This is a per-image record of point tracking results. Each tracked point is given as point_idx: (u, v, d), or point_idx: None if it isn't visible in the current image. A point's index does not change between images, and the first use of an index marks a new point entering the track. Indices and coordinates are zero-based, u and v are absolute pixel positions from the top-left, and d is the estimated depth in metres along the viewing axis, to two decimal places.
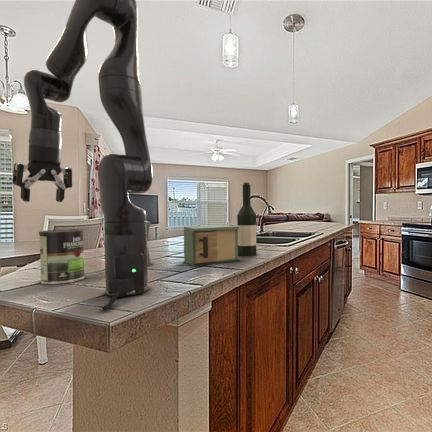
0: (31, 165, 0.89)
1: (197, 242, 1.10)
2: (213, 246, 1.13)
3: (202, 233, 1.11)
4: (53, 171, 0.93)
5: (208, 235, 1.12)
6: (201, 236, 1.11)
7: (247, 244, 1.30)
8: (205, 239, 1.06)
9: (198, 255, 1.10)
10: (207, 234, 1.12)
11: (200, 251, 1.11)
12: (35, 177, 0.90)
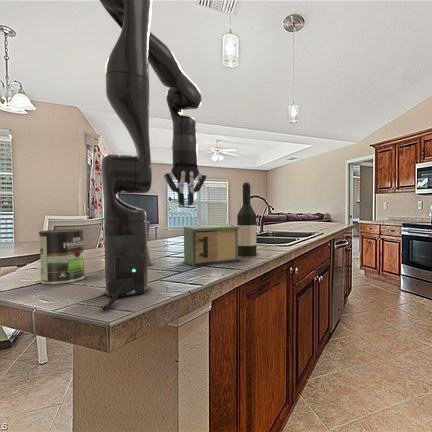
0: (174, 168, 0.99)
1: (197, 242, 1.10)
2: (213, 246, 1.13)
3: (202, 233, 1.11)
4: (191, 173, 1.01)
5: (208, 235, 1.12)
6: (201, 236, 1.11)
7: (247, 244, 1.30)
8: (205, 239, 1.06)
9: (198, 255, 1.10)
10: (207, 234, 1.12)
11: (200, 251, 1.11)
12: (181, 181, 1.00)
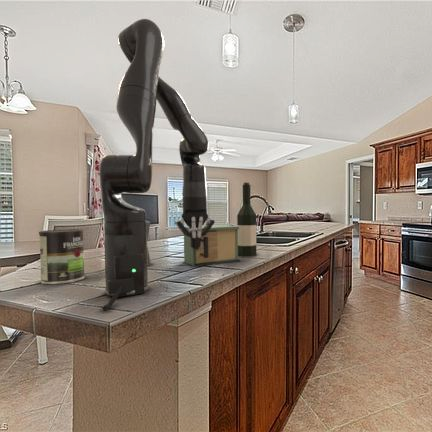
0: (184, 214, 1.01)
1: None
2: (213, 246, 1.13)
3: None
4: (201, 218, 1.04)
5: (208, 235, 1.12)
6: None
7: (247, 244, 1.30)
8: (205, 239, 1.06)
9: (198, 255, 1.10)
10: (207, 234, 1.12)
11: (200, 251, 1.11)
12: (193, 226, 1.02)
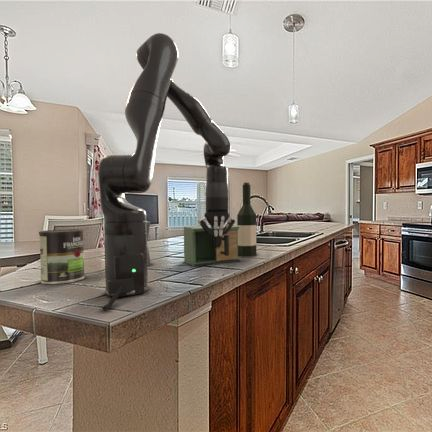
0: (207, 214, 1.06)
1: None
2: (233, 244, 1.18)
3: None
4: (223, 217, 1.08)
5: (228, 234, 1.16)
6: (222, 235, 1.15)
7: (247, 244, 1.30)
8: (226, 237, 1.10)
9: (219, 253, 1.15)
10: (227, 233, 1.16)
11: (221, 249, 1.15)
12: (215, 225, 1.07)
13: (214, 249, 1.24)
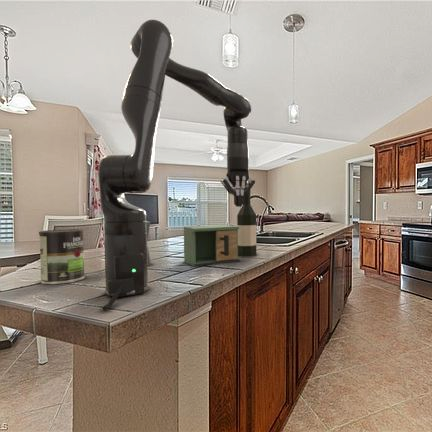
0: (229, 173, 1.10)
1: (218, 240, 1.14)
2: (233, 244, 1.18)
3: (222, 231, 1.15)
4: (244, 177, 1.12)
5: (228, 234, 1.16)
6: (221, 235, 1.15)
7: (247, 244, 1.30)
8: (226, 237, 1.10)
9: (219, 253, 1.15)
10: (227, 233, 1.16)
11: (220, 249, 1.15)
12: (237, 185, 1.11)
13: (214, 249, 1.24)
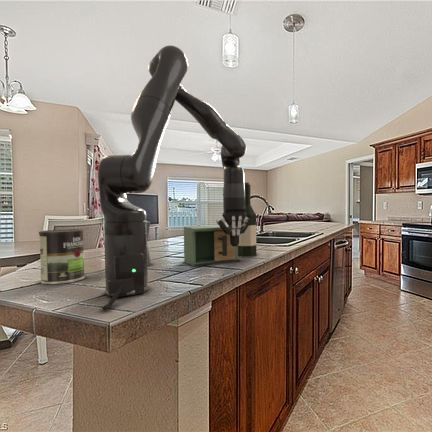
0: (225, 214, 1.09)
1: (216, 241, 1.14)
2: None
3: (220, 231, 1.15)
4: (240, 217, 1.11)
5: (226, 234, 1.16)
6: (220, 235, 1.15)
7: (247, 244, 1.30)
8: (224, 238, 1.10)
9: (217, 253, 1.14)
10: None
11: (219, 249, 1.14)
12: (233, 225, 1.10)
13: None
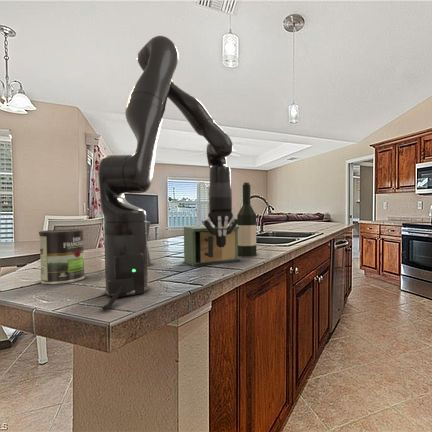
0: (211, 214, 1.06)
1: (202, 242, 1.11)
2: None
3: (207, 232, 1.12)
4: (226, 217, 1.08)
5: (213, 235, 1.13)
6: (206, 236, 1.12)
7: (247, 244, 1.30)
8: (210, 239, 1.07)
9: (203, 254, 1.11)
10: (212, 234, 1.13)
11: (205, 251, 1.12)
12: (219, 225, 1.07)
13: None
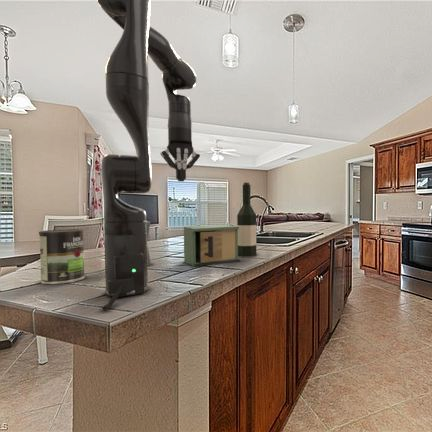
0: (169, 145, 1.04)
1: (202, 242, 1.11)
2: (218, 246, 1.14)
3: (207, 232, 1.12)
4: (186, 150, 1.06)
5: (213, 235, 1.13)
6: (206, 236, 1.12)
7: (247, 244, 1.30)
8: (210, 239, 1.07)
9: (203, 254, 1.11)
10: (212, 234, 1.13)
11: (205, 251, 1.12)
12: (178, 157, 1.05)
13: None
